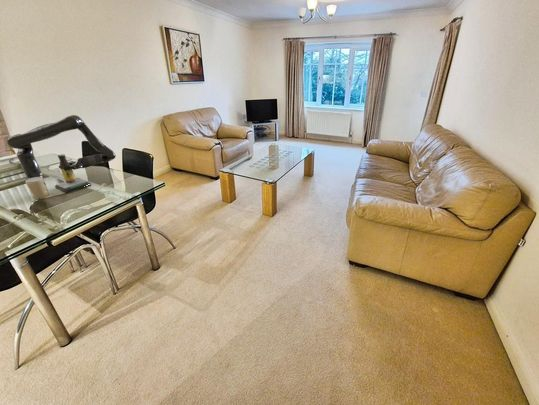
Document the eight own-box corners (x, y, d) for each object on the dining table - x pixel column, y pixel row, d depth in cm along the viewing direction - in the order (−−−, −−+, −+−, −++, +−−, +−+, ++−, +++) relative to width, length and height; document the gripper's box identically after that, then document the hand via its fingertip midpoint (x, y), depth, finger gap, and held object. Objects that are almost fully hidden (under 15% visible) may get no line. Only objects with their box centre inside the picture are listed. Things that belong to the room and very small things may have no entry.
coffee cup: (53, 194, 171) (46, 177, 166) (38, 199, 164) (30, 182, 158) (44, 191, 174) (37, 175, 168) (29, 197, 166) (21, 180, 161)
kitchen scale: (55, 188, 179) (54, 184, 178) (80, 181, 192) (78, 177, 190) (66, 193, 172) (65, 189, 171) (91, 185, 185) (90, 181, 183)
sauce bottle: (71, 183, 178) (59, 156, 168) (63, 183, 179) (52, 156, 169) (79, 180, 183) (68, 154, 174) (71, 179, 184) (61, 153, 175)
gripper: (80, 155, 188) (54, 161, 175) (90, 158, 182) (64, 165, 169) (83, 164, 192) (58, 171, 179) (94, 168, 185) (68, 175, 173)
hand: (61, 168), depth 174 cm, fingers closed on sauce bottle, 6 cm apart
